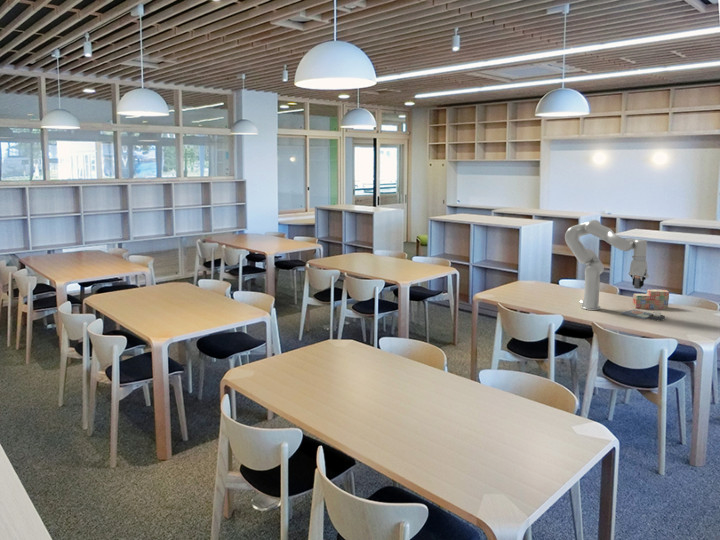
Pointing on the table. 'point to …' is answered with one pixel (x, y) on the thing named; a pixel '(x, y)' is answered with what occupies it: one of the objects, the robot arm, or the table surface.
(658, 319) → the button housing
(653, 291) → the stack of blocks
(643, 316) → the picture board
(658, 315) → the button
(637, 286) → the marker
